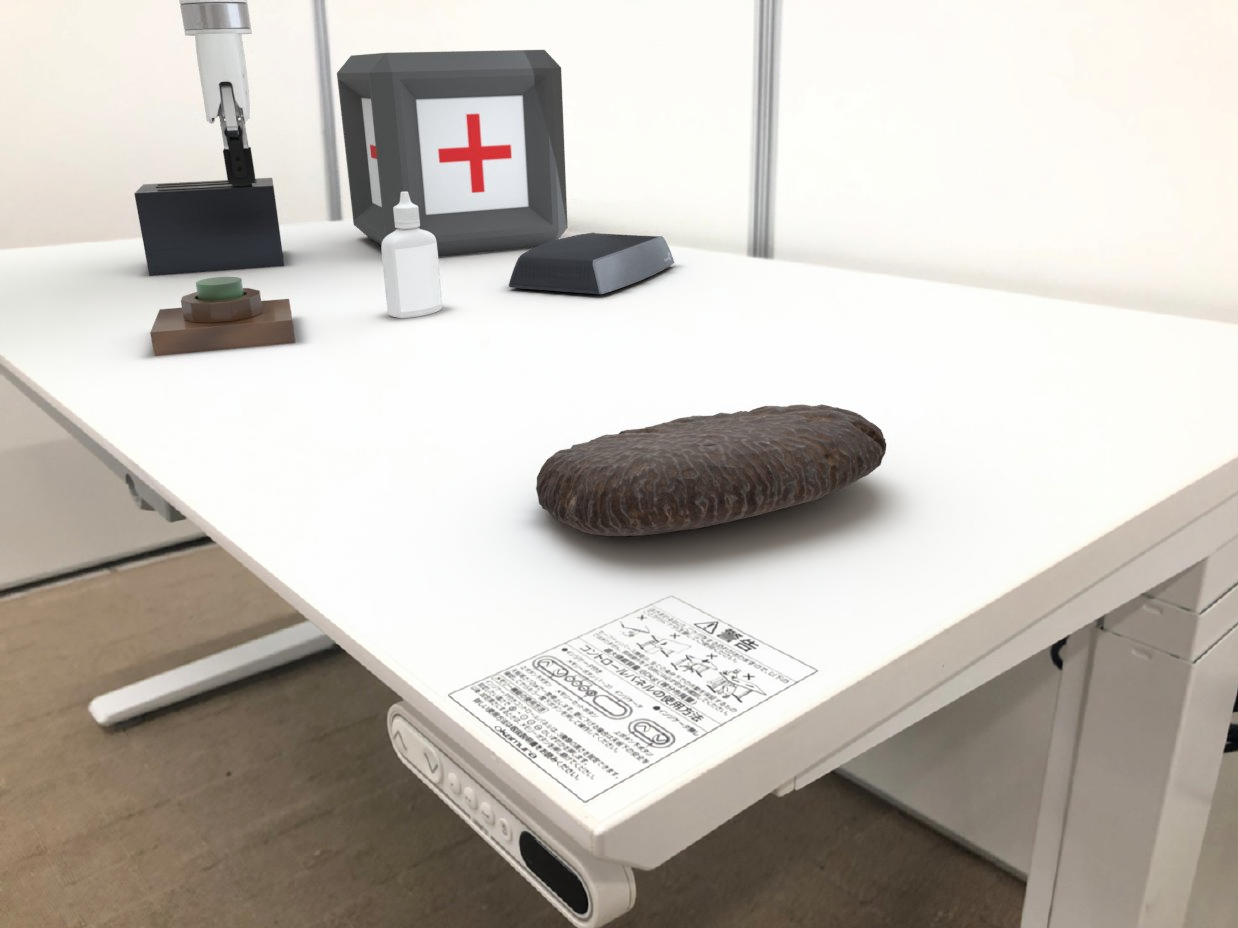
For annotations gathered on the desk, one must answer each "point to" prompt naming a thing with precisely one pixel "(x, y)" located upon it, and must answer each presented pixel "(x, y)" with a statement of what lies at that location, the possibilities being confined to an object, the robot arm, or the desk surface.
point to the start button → (219, 288)
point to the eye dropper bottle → (410, 265)
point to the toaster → (209, 226)
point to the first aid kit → (457, 146)
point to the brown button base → (222, 324)
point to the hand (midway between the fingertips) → (242, 180)
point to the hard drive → (591, 263)
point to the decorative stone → (708, 469)
